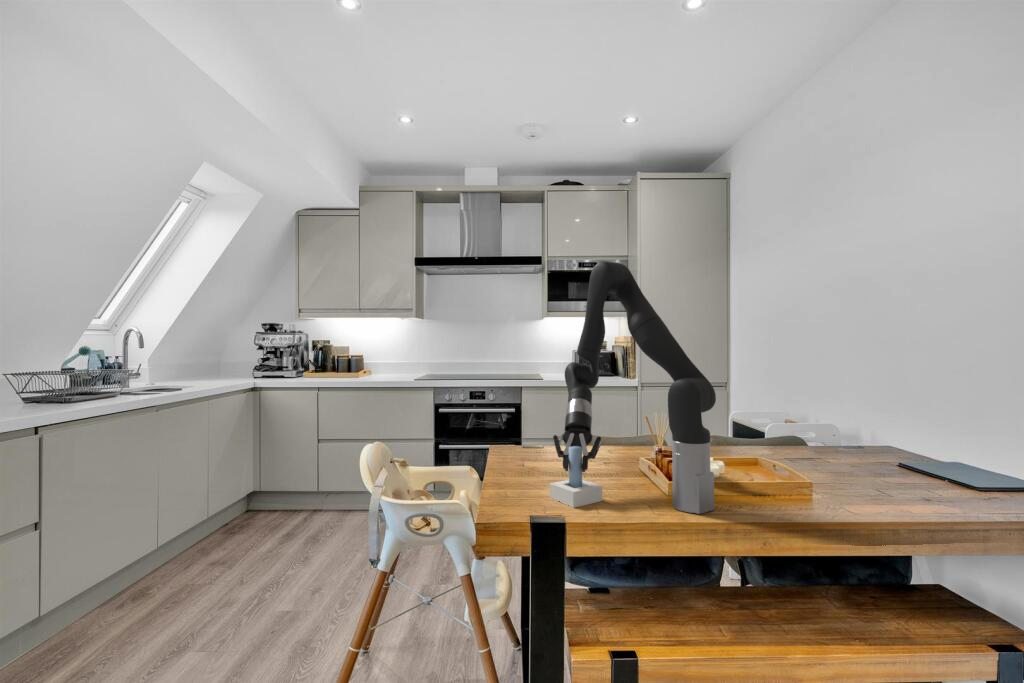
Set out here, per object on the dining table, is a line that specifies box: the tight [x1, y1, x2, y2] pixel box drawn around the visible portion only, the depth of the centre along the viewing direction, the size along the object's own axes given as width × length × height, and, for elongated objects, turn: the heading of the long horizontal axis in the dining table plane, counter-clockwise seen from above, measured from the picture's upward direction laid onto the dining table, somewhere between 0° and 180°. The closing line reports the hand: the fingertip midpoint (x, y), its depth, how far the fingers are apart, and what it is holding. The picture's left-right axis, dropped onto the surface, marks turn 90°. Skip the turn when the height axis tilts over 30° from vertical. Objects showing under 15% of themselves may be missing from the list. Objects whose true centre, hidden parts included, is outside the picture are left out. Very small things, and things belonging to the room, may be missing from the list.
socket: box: [549, 478, 603, 508], centre depth 141 cm, size 10×10×4 cm
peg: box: [568, 446, 583, 488], centre depth 142 cm, size 4×4×12 cm
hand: (575, 469), depth 140 cm, fingers open, 4 cm apart
